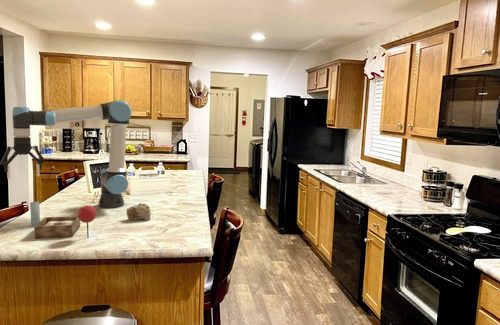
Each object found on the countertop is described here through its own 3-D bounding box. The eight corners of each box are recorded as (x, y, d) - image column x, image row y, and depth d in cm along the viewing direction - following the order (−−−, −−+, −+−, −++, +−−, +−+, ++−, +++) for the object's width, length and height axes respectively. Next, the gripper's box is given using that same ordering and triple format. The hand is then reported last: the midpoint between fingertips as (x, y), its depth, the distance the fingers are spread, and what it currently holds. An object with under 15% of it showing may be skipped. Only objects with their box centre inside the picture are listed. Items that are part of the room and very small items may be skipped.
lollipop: (82, 235, 180) (81, 204, 178) (98, 234, 180) (98, 204, 179) (76, 240, 172) (75, 208, 170) (93, 240, 173) (92, 208, 171)
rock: (154, 215, 213) (147, 199, 210) (152, 220, 207) (145, 203, 204) (133, 221, 213) (127, 205, 211) (130, 226, 207) (123, 210, 204)
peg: (41, 224, 195) (40, 201, 193) (38, 226, 191) (37, 203, 189) (32, 224, 194) (31, 201, 192) (30, 226, 190) (28, 203, 189)
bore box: (80, 226, 192) (79, 216, 192) (72, 236, 177) (72, 225, 176) (45, 228, 189) (45, 217, 188) (34, 238, 173) (34, 226, 173)
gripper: (46, 135, 208) (47, 174, 211) (-8, 136, 191) (-6, 178, 194) (50, 136, 202) (51, 176, 205) (-6, 137, 186) (-3, 180, 188)
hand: (23, 177), depth 199 cm, fingers open, 13 cm apart
